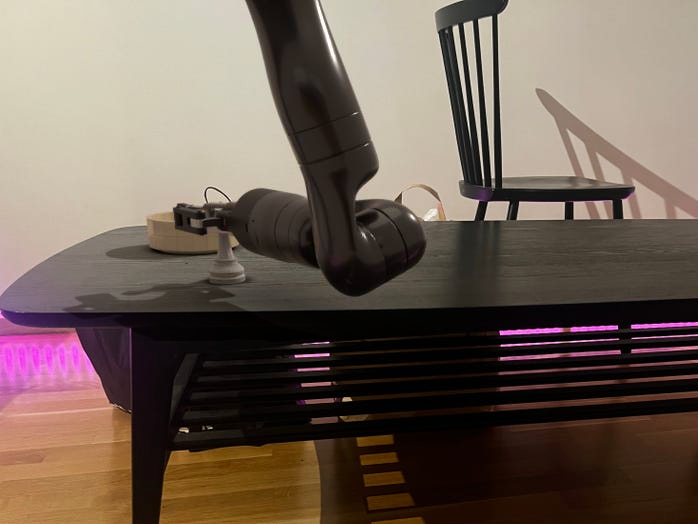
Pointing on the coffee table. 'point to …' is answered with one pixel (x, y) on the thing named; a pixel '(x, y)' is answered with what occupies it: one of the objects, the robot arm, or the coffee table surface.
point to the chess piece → (225, 263)
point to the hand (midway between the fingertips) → (213, 209)
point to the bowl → (179, 237)
